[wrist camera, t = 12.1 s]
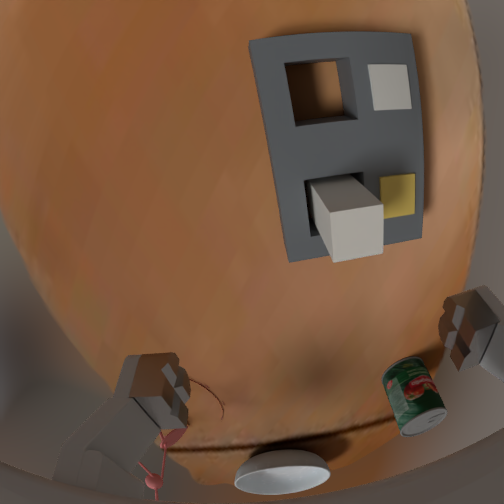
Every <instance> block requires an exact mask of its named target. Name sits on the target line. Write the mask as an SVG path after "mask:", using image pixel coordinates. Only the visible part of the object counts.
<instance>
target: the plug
mask: <svg viewBox="0 0 504 504" xmlns="http://www.w3.org/2000/svg"><path fill="white" fill-rule="evenodd" d="M305 184H306V191H307V199H308V207H309V213H310V215H311V217H312V219H313V221H314V223H315V225H316V227H317V229H318V231H319V233H320V235H321V237H322V239H323V241H324V244H325V246H326V248H327V250H328V252H329V254H330V256H331V258H332V261H333V263H334V262H340V261H345V260H350V259H356V258H361V257H366V256H371V255H377V254H382V253H383V228H384V215H383V203H382V202H380V201H379V200H378V199H377V198H376V197H375V196H374V195H373V194H372V193H371V192H370V191H368V190H367V189H366V188H365V187H364V186H363V185H362V184H361V183H360V182H358V181H357V180H356V179H355V178H354V177H353V176H352V175H350V174H349V173H348V174H341V175H334V176H327V177H321V178H314V179H308V180H305Z"/></svg>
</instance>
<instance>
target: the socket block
mask: <svg viewBox="0 0 504 504" xmlns="http://www.w3.org/2000/svg"><path fill="white" fill-rule="evenodd" d="M248 48H249V53H250V58H251V63H252V67H253V72H254V77H255V82H256V87H257V92H258V97H259V102H260V107H261V113H262V118H263V123H264V128H265V134H266V139H267V144H268V150H269V155H270V161H271V167H272V172H273V178H274V184H275V190H276V195H277V201H278V207H279V213H280V220H281V226H282V232H283V238H284V244H285V248H286V252H287V256H288V261H289V263H290V262H295V261H301V260H306V259H312V258H318V257H323V256H329V255H330V254H329V252H328V250H327V248H326V246H325V244H324V241H323V239H322V237H321V235H320V233H319V231H318V229H317V227H316V225H315V223H314V221H313V219H312V218H309V219H308V211H307V203H306V195H305V188H304V180H308V179H314V178H321V177H327V176H334V175H341V174H348V173H351V175H352V176H353V177H354V178H355V179H356V180H357V181H358V182H360V183H361V184H362V185H363V186H364V187H365V188H366V189H367V190H368V191H370V192H371V193H372V194H373V195H374V196H375V197H376V198H377V199H378V200H379V201H380V202H382V203H383V215H384V228H383V245H388V244H393V243H398V242H403V241H409V240H414V239H419V238H422V224H423V204H424V146H423V126H422V112H421V100H420V91H419V82H418V74H417V67H416V61H415V54H414V48H413V43H412V37H411V34H407V33H392V32H323V33H308V34H296V35H286V36H278V37H270V38H263V39H256V40H250V41H249V46H248ZM330 61H336V65H337V70H338V76H339V82H340V89H341V95H342V102H343V109H344V115H343V116H334V117H324V118H316V119H308V120H301V121H294V115H293V109H292V104H291V98H290V92H289V87H288V82H287V76H286V71H285V66H288V65H297V64H306V63H317V62H330Z"/></svg>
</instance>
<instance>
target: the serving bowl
mask: <svg viewBox="0 0 504 504" xmlns="http://www.w3.org/2000/svg"><path fill="white" fill-rule="evenodd" d="M329 477H330V470H329V467H328V465H327V463H326V462H325V461H324V460H323V459H322V458H321V457H320V456H318V455H316V454H314V453H312V452H308V451H304V450H294V449H286V450H276V451H270V452H266V453H262V454H259V455H256V456H254V457H252V458H250V459H248V460H247V461H245V462H244V463H243V464H242V465H241V466H240V468H239V469H238V471H237V473H236V477H235V486H236V487H237V488H238V489H240V490H243V491H245V492H249V493H256V494H266V495H274V494H287V493H294V492H299V491H303V490H307V489H310V488H312V487H315V486H317V485H319V484H321V483H323V482H325V481H326V480H327V479H328V478H329Z"/></svg>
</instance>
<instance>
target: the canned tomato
mask: <svg viewBox="0 0 504 504" xmlns="http://www.w3.org/2000/svg"><path fill="white" fill-rule="evenodd" d="M382 384H383V385H384V388H385V391H386V394H387V396H388V399H389V402H390V404H391V407H392V410H393V413H394V415H395V418H396V421H397V424H398V427H399V430H400V434H401V435H402V436H404V437H412V436H416V435H419V434H421V433H424V432H426V431H428V430H430V429H432V428H433V427H435V426H436V425H438V424H439V423H440V422H441V421H442V420H443V419H444V418H445V417H446V415H447V409H446V408H445V406H444V404H443V401H442V399H441V397H440V395H439V393H438V391H437V389H436V386H435V385H434V382H433V381H432V378H431V376H430V374H429V372H428V371H427V368H426V367H425V365H424V362H423V360H422V359H421V358H419V357H407V358H404V359H402V360H399V361H397V362H396V363H394V364H393V365H391V366H390V367H389V368H388V369H387V370H386V371H385V372H384V374H383V376H382Z"/></svg>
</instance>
